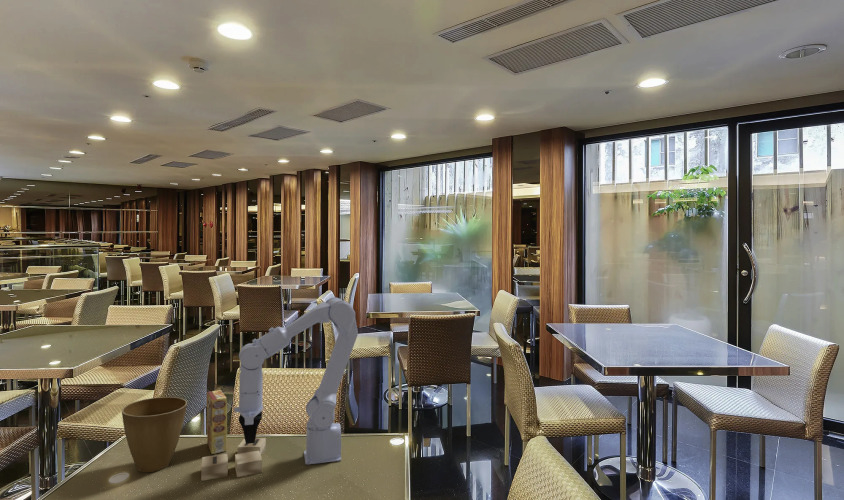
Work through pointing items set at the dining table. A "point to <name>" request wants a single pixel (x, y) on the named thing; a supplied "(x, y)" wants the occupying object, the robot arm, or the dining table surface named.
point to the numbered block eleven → (252, 446)
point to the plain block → (248, 463)
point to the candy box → (216, 421)
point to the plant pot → (153, 430)
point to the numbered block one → (214, 467)
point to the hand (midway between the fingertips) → (250, 442)
